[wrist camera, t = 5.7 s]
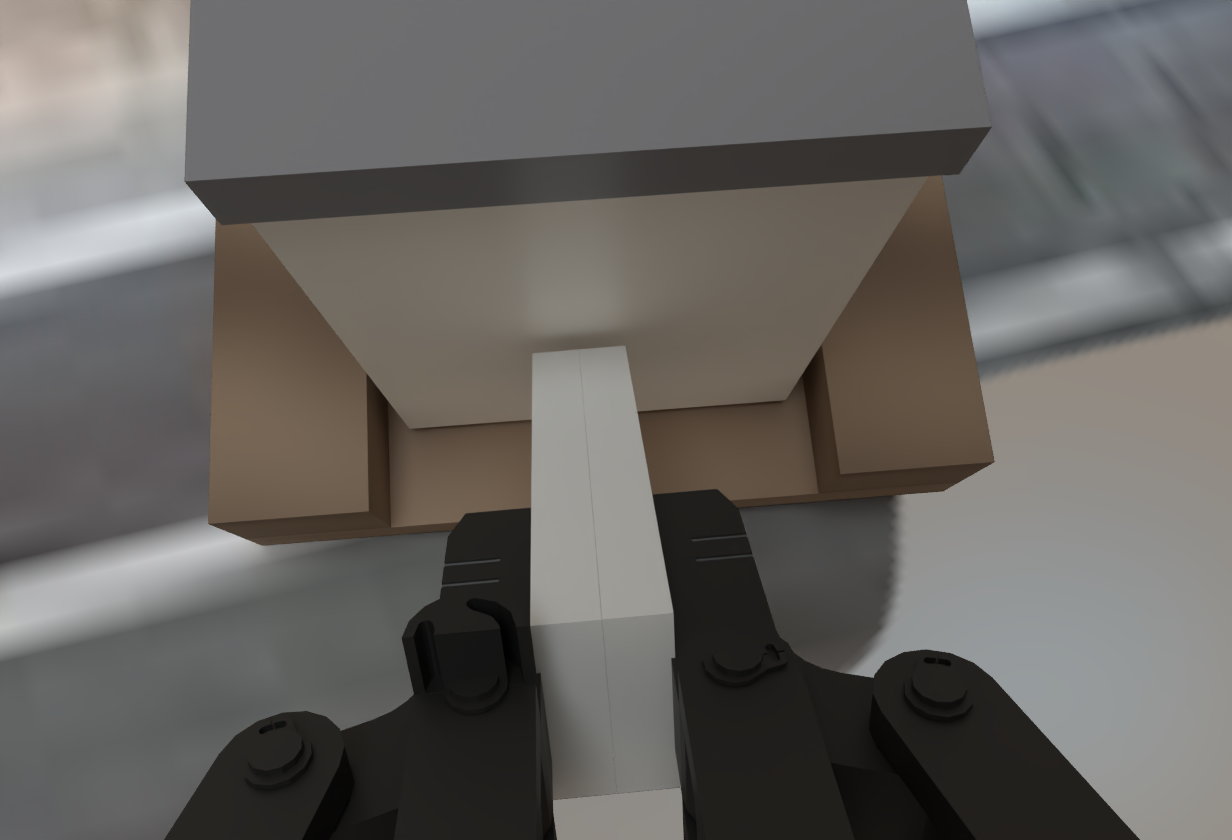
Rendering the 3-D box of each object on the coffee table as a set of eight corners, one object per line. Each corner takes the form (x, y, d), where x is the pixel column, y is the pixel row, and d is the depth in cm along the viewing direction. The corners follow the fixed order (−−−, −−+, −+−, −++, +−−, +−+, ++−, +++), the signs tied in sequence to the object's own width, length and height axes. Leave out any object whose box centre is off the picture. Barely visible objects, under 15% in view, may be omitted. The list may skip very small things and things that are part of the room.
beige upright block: (796, 408, 21) (992, 125, 10) (400, 439, 21) (185, 181, 10) (760, 140, 23) (897, -341, 12) (392, 165, 22) (201, -303, 12)
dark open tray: (943, 491, 22) (1064, 421, 16) (262, 545, 21) (135, 494, 16) (816, -254, 27) (873, -507, 21) (269, -224, 27) (177, -475, 21)
